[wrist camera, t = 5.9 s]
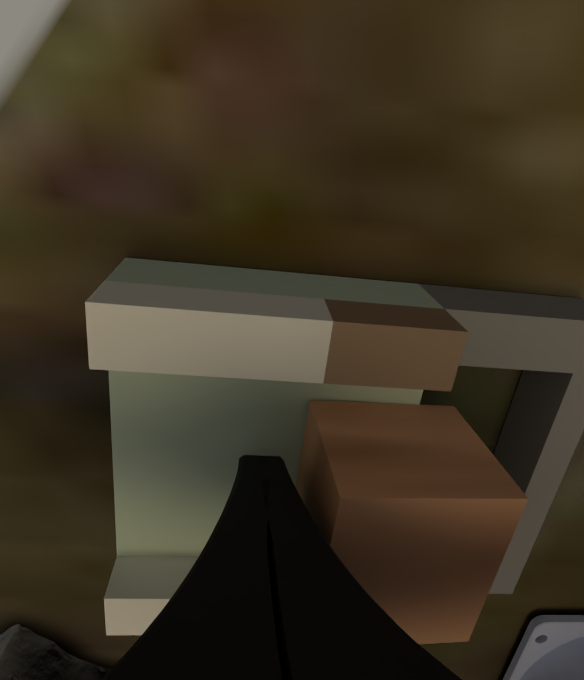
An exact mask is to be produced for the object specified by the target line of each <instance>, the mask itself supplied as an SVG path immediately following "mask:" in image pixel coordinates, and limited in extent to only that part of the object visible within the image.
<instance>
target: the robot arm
mask: <svg viewBox="0 0 584 680" xmlns="http://www.w3.org/2000/svg"><path fill="white" fill-rule="evenodd" d="M101 680H461V679H460V678H459V677H458V676H456V675H455V674H454V673H453V672H452V671H450V670H449V669H448V668H447V667H445V666H444V665H443V664H442V663H441V662H439V661H438V660H437V659H436V658H434V657H433V656H432V655H431V654H430V653H428V652H427V651H426V650H425V649H423V648H422V647H421V646H420V645H419V644H418V643H417V642H415V641H414V640H413V639H412V638H411V637H410V636H409V635H408V634H407V633H406V632H405V631H404V630H403V629H401V628H400V627H399V626H398V625H397V624H396V623H395V621H394V620H393V619H392V618H391V617H390V616H389V615H388V614H387V613H386V612H385V611H384V610H383V609H382V608H381V607H380V606H379V605H378V604H377V603H376V602H375V601H374V600H373V599H372V598H371V596H370V595H369V594H368V593H367V592H366V591H365V590H364V588H363V587H362V586H361V585H360V584H359V583H358V581H357V580H356V579H355V578H354V577H353V575H352V574H351V573H350V572H349V570H348V569H347V568H346V567H345V565H344V564H343V563H342V561H341V560H340V559H339V557H338V556H337V555H336V553H335V552H334V550H333V549H332V548H331V546H330V545H329V543H328V542H327V540H326V539H325V537H324V536H323V534H322V533H321V531H320V530H319V528H318V527H317V525H316V523H315V522H314V520H313V518H312V517H311V515H310V513H309V511H308V510H307V508H306V506H305V505H304V503H303V501H302V499H301V497H300V495H299V493H298V491H297V489H296V487H295V485H294V483H293V481H292V479H291V477H290V475H289V472H288V470H287V468H286V465H285V462H284V460H283V459H282V458H281V457H280V456H259V455H243V456H242V457H240V458H239V463H238V470H237V474H236V478H235V481H234V484H233V487H232V490H231V493H230V495H229V497H228V500H227V502H226V505H225V507H224V509H223V512H222V514H221V516H220V518H219V520H218V522H217V524H216V526H215V528H214V530H213V532H212V534H211V536H210V538H209V540H208V541H207V543H206V545H205V547H204V549H203V550H202V552H201V554H200V555H199V557H198V559H197V560H196V562H195V563H194V565H193V567H192V568H191V570H190V571H189V573H188V574H187V576H186V577H185V579H184V580H183V582H182V583H181V585H180V586H179V588H178V589H177V590H176V592H175V593H174V595H173V596H172V598H171V599H170V600H169V602H168V603H167V604H166V606H165V607H164V608H163V610H162V611H161V612H160V613H159V615H158V616H157V617H156V618H155V619H154V621H153V622H152V623H151V624H150V626H149V627H148V628H147V629H146V631H145V632H144V633H143V634H142V635H141V637H140V638H139V639H138V640H137V641H136V643H135V644H134V645H133V646H132V647H131V648H130V650H129V651H128V652H127V653H126V654H125V655H124V656H123V657H122V658H121V659H120V660H119V661H118V662H117V663H116V665H115V666H114V667H113V668H112V669H111V670H110V671H109V672H108V673H107V674H106V675H105V676H104V677H103V678H102V679H101ZM503 680H584V615H539V616H537V617H535V618H533V619H532V620H531V621H530V623H529V625H528V627H527V629H526V632H525V634H524V636H523V638H522V640H521V642H520V644H519V646H518V648H517V651H516V653H515V655H514V657H513V659H512V661H511V663H510V665H509V667H508V669H507V672H506V674H505V676H504V678H503Z"/></svg>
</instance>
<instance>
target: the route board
mask: <svg viewBox="0 0 584 680" xmlns="http://www.w3.org/2000/svg"><path fill="white" fill-rule="evenodd" d="M85 310H86V326H87V341H88V357H89V369H96V370H109V390H110V412H111V434H112V456H113V478H114V500H115V522H116V544H117V557H116V561H115V564H114V567H113V571H112V574H111V577H110V580H109V584H108V587H107V590H106V594H105V597H104V607H105V623H106V635H142V634H143V633H144V632H145V631H146V629H147V628H148V627H149V626H150V624H151V623H152V622H153V621H154V619H155V618H156V617H157V616H158V615H159V613H160V612H161V611H162V610H163V608H164V607H165V606H166V604H167V603H168V602H169V600H170V599H171V598H172V596H173V595H174V593H175V592H176V590H177V589H178V588H179V586H180V585H181V583H182V582H183V580H184V579H185V577H186V576H187V574H188V573H189V571H190V570H191V568H192V567H193V565H194V563H195V562H196V560H197V559H198V557H199V555H200V554H201V552H202V550H203V549H204V547H205V545H206V543H207V541H208V540H209V538H210V536H211V534H212V532H213V530H214V528H215V526H216V524H217V522H218V520H219V518H220V516H221V514H222V512H223V509H224V507H225V505H226V502H227V500H228V497H229V495H230V493H231V490H232V487H233V484H234V481H235V478H236V474H237V470H238V463H239V458H240V457H242V456H243V455H259V456H280V457H281V458H282V459H283V460H284V462H285V465H286V468H287V470H288V472H289V475H290V477H291V479H292V481H293V483H294V485H295V487H296V481H297V475H298V469H299V462H300V456H301V450H302V444H303V438H304V432H305V426H306V420H307V414H308V408H309V402H310V400H312V401H338V402H364V403H390V404H415V405H420V401H421V397H422V393H423V390H436V391H451V390H452V387H453V383H454V380H455V376H456V373H457V370H458V366H473V367H488V368H503V369H517V370H523V372H522V374H521V377H520V380H519V383H518V386H517V389H516V391H515V394H514V397H513V400H512V403H511V406H510V408H509V411H508V414H507V417H506V420H505V423H504V425H503V428H502V431H501V434H500V437H499V440H498V442H497V445H496V448H495V451H494V454H493V455H494V456H495V458H496V459H497V460H498V461H499V463H500V464H501V465H502V466H503V468H504V469H505V470H506V471H507V473H508V474H509V475H510V476H511V477H512V479H513V480H514V481H515V482H516V484H517V485H518V486H519V487H520V489H521V490H522V491H523V492H524V494H525V495H526V496H527V497H528V501H527V504H526V506H525V508H524V511H523V513H522V515H521V518H520V520H519V523H518V525H517V527H516V530H515V532H514V534H513V537H512V539H511V541H510V544H509V546H508V549H507V551H506V553H505V556H504V558H503V560H502V563H501V565H500V567H499V570H498V572H497V575H496V577H495V579H494V582H493V584H492V586H491V589H490V591H489V593H488V594H512V593H513V591H514V589H515V586H516V584H517V582H518V579H519V577H520V575H521V573H522V570H523V568H524V566H525V563H526V561H527V559H528V557H529V554H530V552H531V550H532V547H533V545H534V543H535V540H536V538H537V536H538V534H539V531H540V529H541V527H542V524H543V522H544V520H545V518H546V515H547V513H548V511H549V508H550V506H551V504H552V501H553V499H554V497H555V495H556V492H557V490H558V488H559V485H560V483H561V481H562V479H563V476H564V474H565V472H566V469H567V467H568V465H569V463H570V460H571V458H572V456H573V453H574V451H575V449H576V446H577V444H578V442H579V440H580V437H581V435H582V433H583V430H584V300H583V299H581V298H571V297H560V296H548V295H537V294H526V293H515V292H504V291H493V290H482V289H470V288H459V287H448V286H437V285H426V284H415V283H404V282H392V281H381V280H370V279H359V278H348V277H337V276H326V275H314V274H303V273H292V272H281V271H270V270H259V269H248V268H236V267H225V266H214V265H203V264H192V263H181V262H170V261H158V260H147V259H136V258H125V259H124V260H123V261H122V262H121V263H120V264H119V265H118V266H117V267H116V269H115V270H114V271H113V272H112V273H111V274H110V275H109V276H108V277H107V278H106V279H105V281H104V282H103V283H102V284H101V285H100V286H99V287H98V288H97V289H96V290H95V292H94V293H93V294H92V295H91V296H90V297H89V298H88V299H87V300H86V301H85Z"/></svg>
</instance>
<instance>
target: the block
mask: <svg viewBox="0 0 584 680" xmlns="http://www.w3.org/2000/svg"><path fill="white" fill-rule="evenodd" d="M296 489H297V491H298V493H299V495H300V497H301V499H302V501H303V503H304V505H305V506H306V508H307V510H308V511H309V513H310V515H311V517H312V518H313V520H314V522H315V523H316V525H317V527H318V528H319V530H320V531H321V533H322V534H323V536H324V537H325V539H326V540H327V542H328V543H329V545H330V546H331V548H332V549H333V550H334V552H335V553H336V555H337V556H338V557H339V559H340V560H341V561H342V563H343V564H344V565H345V567H346V568H347V569H348V570H349V572H350V573H351V574H352V575H353V577H354V578H355V579H356V580H357V581H358V583H359V584H360V585H361V586H362V587H363V588H364V590H365V591H366V592H367V593H368V594H369V595H370V596H371V598H372V599H373V600H374V601H375V602H376V603H377V604H378V605H379V606H380V607H381V608H382V609H383V610H384V611H385V612H386V613H387V614H388V615H389V616H390V617H391V618H392V619H393V620H394V621H395V623H396V624H397V625H398V626H399V627H400V628H401V629H403V630H404V631H405V632H406V633H407V634H408V635H409V636H410V637H411V638H412V639H413V640H414V641H415V642H417V643H418V644H431V643H449V642H468V641H469V638H470V636H471V634H472V631H473V629H474V627H475V624H476V622H477V619H478V617H479V615H480V612H481V610H482V608H483V605H484V603H485V601H486V598H487V596H488V593H489V591H490V589H491V586H492V584H493V582H494V579H495V577H496V575H497V572H498V570H499V567H500V565H501V563H502V560H503V558H504V556H505V553H506V551H507V549H508V546H509V544H510V541H511V539H512V537H513V534H514V532H515V530H516V527H517V525H518V523H519V520H520V518H521V515H522V513H523V511H524V508H525V506H526V504H527V501H528V497H527V496H526V495H525V494H524V492H523V491H522V490H521V489H520V487H519V486H518V485H517V484H516V482H515V481H514V480H513V479H512V477H511V476H510V475H509V474H508V473H507V471H506V470H505V469H504V468H503V466H502V465H501V464H500V463H499V461H498V460H497V459H496V458H495V456H494V455H493V454H492V453H491V451H490V450H489V449H488V448H487V446H486V445H485V444H484V443H483V441H482V440H481V439H480V438H479V437H478V435H477V434H476V433H475V432H474V430H473V429H472V428H471V427H470V425H469V424H468V423H467V422H466V420H465V419H464V418H463V417H462V415H461V414H460V413H459V412H458V410H457V409H456V408H455V407H454V406H441V405H415V404H390V403H364V402H338V401H312V400H310V402H309V408H308V414H307V420H306V426H305V432H304V438H303V444H302V450H301V456H300V462H299V469H298V475H297V481H296Z"/></svg>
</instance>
